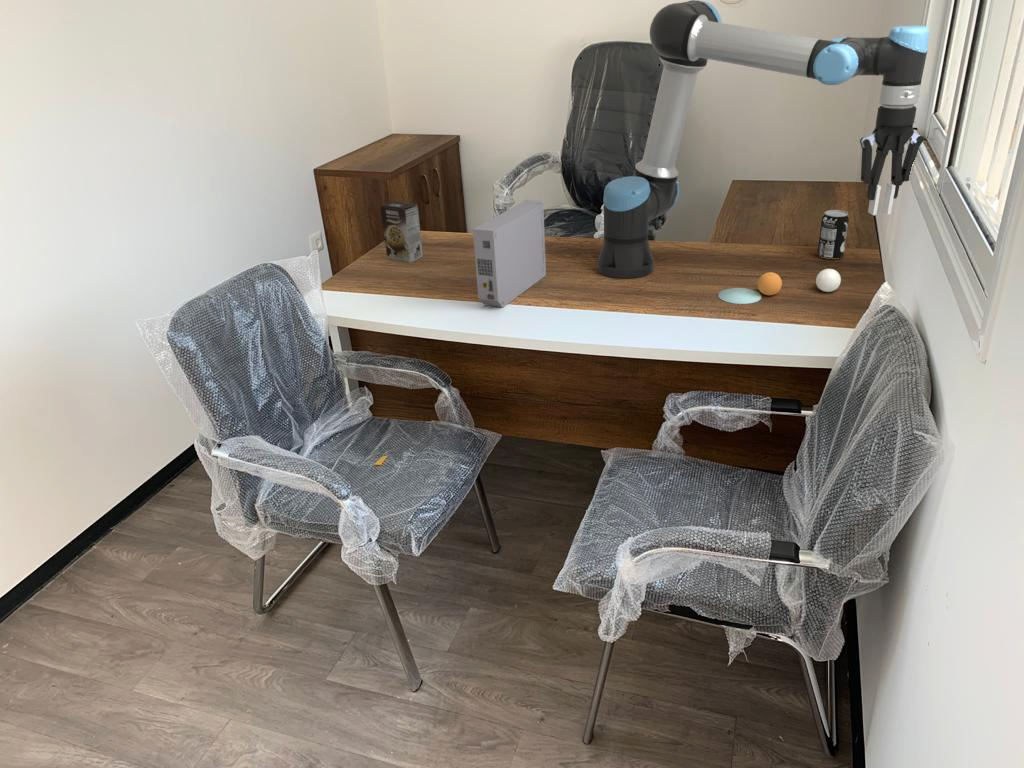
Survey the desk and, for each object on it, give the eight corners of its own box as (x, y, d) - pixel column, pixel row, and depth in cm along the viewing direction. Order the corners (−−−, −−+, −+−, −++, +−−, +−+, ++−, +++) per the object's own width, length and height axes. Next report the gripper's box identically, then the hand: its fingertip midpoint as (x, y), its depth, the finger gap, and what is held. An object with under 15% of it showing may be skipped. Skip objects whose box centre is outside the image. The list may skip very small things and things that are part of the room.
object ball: (760, 299, 181) (762, 277, 178) (753, 291, 186) (755, 269, 183) (783, 298, 181) (786, 276, 178) (776, 289, 186) (778, 268, 183)
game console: (548, 274, 205) (545, 201, 195) (499, 311, 184) (494, 231, 174) (529, 272, 207) (525, 199, 198) (479, 308, 186) (472, 229, 177)
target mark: (724, 305, 179) (724, 304, 179) (713, 290, 188) (713, 289, 188) (766, 302, 179) (766, 301, 179) (754, 287, 188) (754, 286, 187)
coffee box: (386, 259, 224) (378, 205, 216) (400, 253, 229) (393, 199, 221) (410, 263, 219) (403, 208, 212) (424, 256, 224) (417, 202, 217)
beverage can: (839, 252, 207) (845, 209, 201) (846, 260, 201) (853, 215, 195) (814, 253, 207) (819, 209, 202) (820, 261, 202) (826, 216, 196)
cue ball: (819, 295, 181) (822, 274, 178) (811, 287, 185) (814, 266, 183) (842, 294, 180) (846, 272, 178) (833, 286, 185) (836, 264, 183)
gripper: (868, 110, 160) (851, 219, 171) (943, 105, 160) (921, 215, 171) (853, 105, 167) (838, 210, 178) (925, 100, 166) (905, 206, 177)
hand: (879, 212), depth 174 cm, fingers open, 3 cm apart
